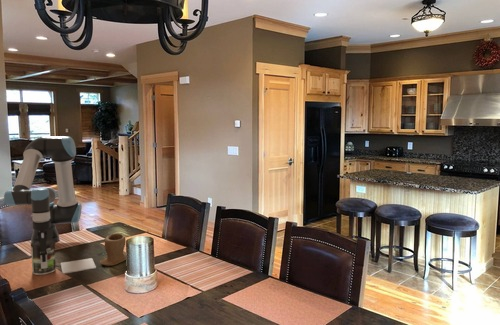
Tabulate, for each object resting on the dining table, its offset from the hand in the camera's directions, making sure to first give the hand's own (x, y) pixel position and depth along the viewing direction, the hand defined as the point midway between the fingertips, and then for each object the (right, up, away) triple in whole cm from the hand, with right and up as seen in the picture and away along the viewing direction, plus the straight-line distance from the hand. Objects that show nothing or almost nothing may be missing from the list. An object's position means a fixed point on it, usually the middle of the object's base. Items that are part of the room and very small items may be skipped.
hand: (43, 263), depth 191 cm
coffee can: (0, -4, 0) cm, 4 cm away
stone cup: (+31, -3, +12) cm, 34 cm away
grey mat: (+14, -3, +7) cm, 15 cm away
